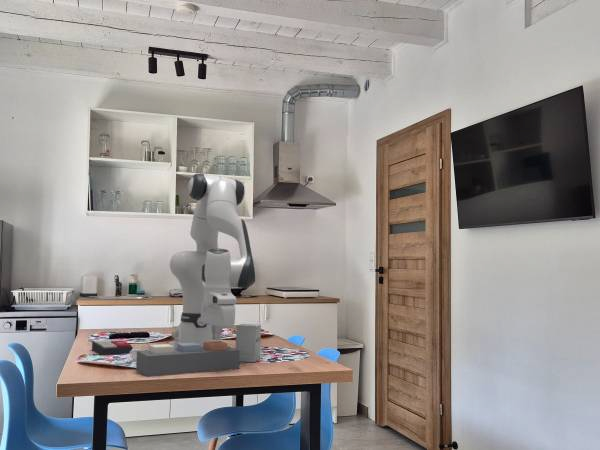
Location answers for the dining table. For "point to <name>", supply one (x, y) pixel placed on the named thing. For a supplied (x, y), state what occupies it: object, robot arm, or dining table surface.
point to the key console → (186, 361)
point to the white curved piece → (134, 354)
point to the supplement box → (248, 342)
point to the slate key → (188, 347)
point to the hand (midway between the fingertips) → (216, 339)
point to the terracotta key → (215, 345)
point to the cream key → (161, 349)
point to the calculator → (111, 347)
